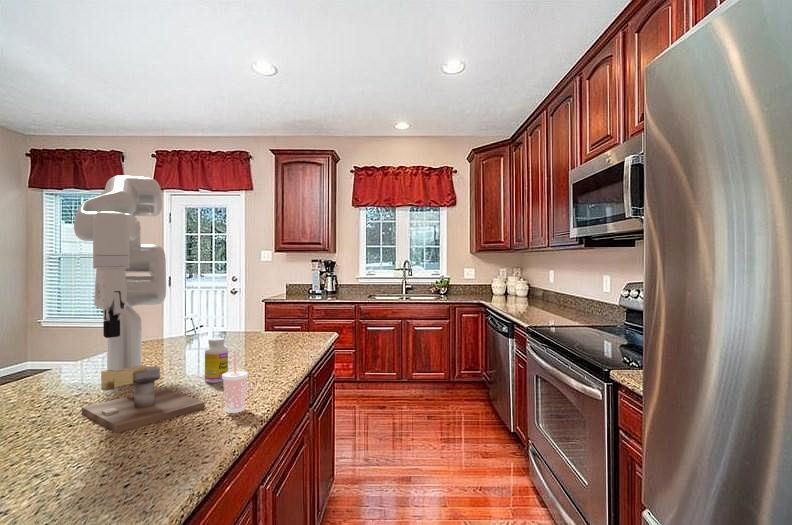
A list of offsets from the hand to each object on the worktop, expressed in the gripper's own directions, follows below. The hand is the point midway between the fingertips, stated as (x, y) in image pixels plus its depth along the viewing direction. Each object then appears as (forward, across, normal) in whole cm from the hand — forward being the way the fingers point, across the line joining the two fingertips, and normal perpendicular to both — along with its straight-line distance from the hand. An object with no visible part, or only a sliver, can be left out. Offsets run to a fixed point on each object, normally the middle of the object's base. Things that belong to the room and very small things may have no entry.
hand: (111, 336), depth 110 cm
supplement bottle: (+19, -8, +30) cm, 36 cm away
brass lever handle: (+10, +7, +2) cm, 13 cm away
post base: (+18, +7, +5) cm, 20 cm away
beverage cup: (+18, +22, +22) cm, 35 cm away
